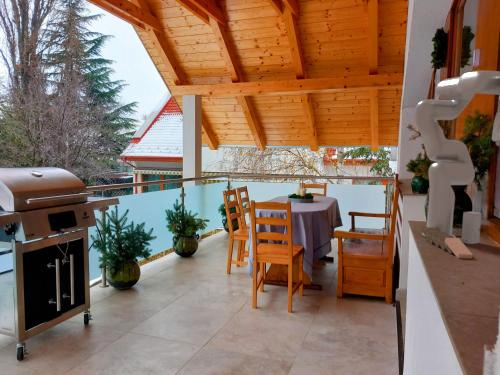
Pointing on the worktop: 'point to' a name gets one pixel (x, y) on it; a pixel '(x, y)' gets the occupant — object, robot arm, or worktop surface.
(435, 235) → the domino
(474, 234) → the skincare box
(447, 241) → the end tile
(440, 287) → the worktop surface
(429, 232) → the domino
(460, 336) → the worktop surface
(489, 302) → the worktop surface
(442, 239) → the domino
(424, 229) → the domino
